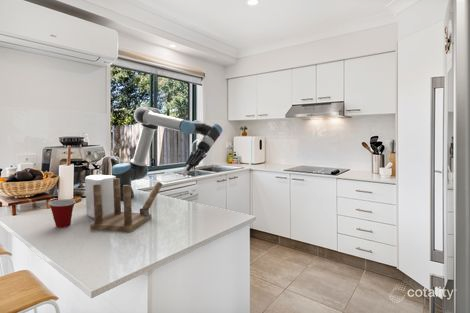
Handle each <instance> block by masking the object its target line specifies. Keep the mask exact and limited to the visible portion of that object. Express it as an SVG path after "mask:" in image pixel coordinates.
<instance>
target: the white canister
mask: <svg viewBox="0 0 470 313" xmlns="http://www.w3.org/2000/svg"><path fill="white" fill-rule="evenodd" d="M113 179H116V176H112V174H111V175H109V174H107V175H106V174H92V175H91V174H90V175H86V176H85V177H84V183H85V184H84V189H85V190H84V191H85V206H86V207H85V208H86V216H88V217H90V218H92V219H94V220H95V216H94V194H93V184H101V199H102V218H105V217H107V216H109V215H111V214H113V213H114V191H113Z"/></svg>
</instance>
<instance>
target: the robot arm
mask: <svg viewBox="0 0 470 313" xmlns="http://www.w3.org/2000/svg"><path fill="white" fill-rule="evenodd" d="M133 118H134V120H135V122H137V123H138V124H140V126H141V130H140V133H139V138H138V141H137V145H136V149H135V151H134V154H133V158H132V159H130V161H129V162H122V163H118V164H117V163H116V164H114V165H113V166H112V167H111V175H112V176H116V178H119V179H120V198H121V202H122V201H124V199H123V185H131V200H132V199H134V198H135V193H134V190H133V187H132V182H133V181H137V180H142V179H144V178H145V177H147V175H148V173H149V168H148V165H147V164H148V163H147V162H146V161H147V158H148V154H149V151H150V148H151V144H152V142H153V137H154V134H155V131H157V130H158V127H161V128H166V129H169V130H173V131H177V132H181V133H183V134H185V135H201V136H203V137H202V139H200V141H199V142H198V144H197V145H196V149H195V150H194V151H191V152H190V155H189V156H188V158H187V160H186V162H185V165H186V166H185V167H184V169H183V170H182V171H181V172H180V174H181V175H182V176H183V177H186V176H187V175H188V174H189V173H190V171H191V170H192V168H196V167H197V166H198V165H199V164H200V163H201V161H203V159H204V158H206V157H207V154H208V153H209V151H210V150H211V148H212V147H213V145H214V144H215V143H216V141H217V140H218V139H219V137H221V134H222V133H223V131H224V130H223V127H222V126H221V125H220V124H218V123H213V124H212V125H210V124H207V123H204V122H203V121H201V120H197V119H195V120H193V121H192V120H187V119H183V118H177V117H174V116H170V115H166V114H163V112H162V110H160V109H159V108H155V107H150V106H149V107H148V106H140V107H137V108H136V109H135V110H134V112H133Z"/></svg>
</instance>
